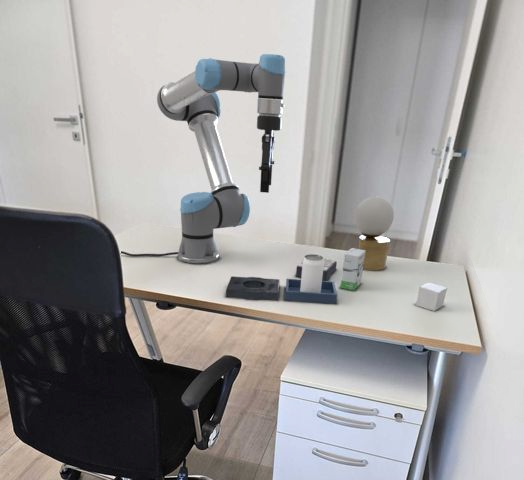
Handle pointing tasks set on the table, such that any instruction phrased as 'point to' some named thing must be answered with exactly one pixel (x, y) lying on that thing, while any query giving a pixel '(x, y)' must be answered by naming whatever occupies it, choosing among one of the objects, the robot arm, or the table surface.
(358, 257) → the ink box
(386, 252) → the lamp
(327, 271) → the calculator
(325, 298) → the blue tray
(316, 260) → the can
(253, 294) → the plate
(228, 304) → the table surface
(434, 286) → the white cube
